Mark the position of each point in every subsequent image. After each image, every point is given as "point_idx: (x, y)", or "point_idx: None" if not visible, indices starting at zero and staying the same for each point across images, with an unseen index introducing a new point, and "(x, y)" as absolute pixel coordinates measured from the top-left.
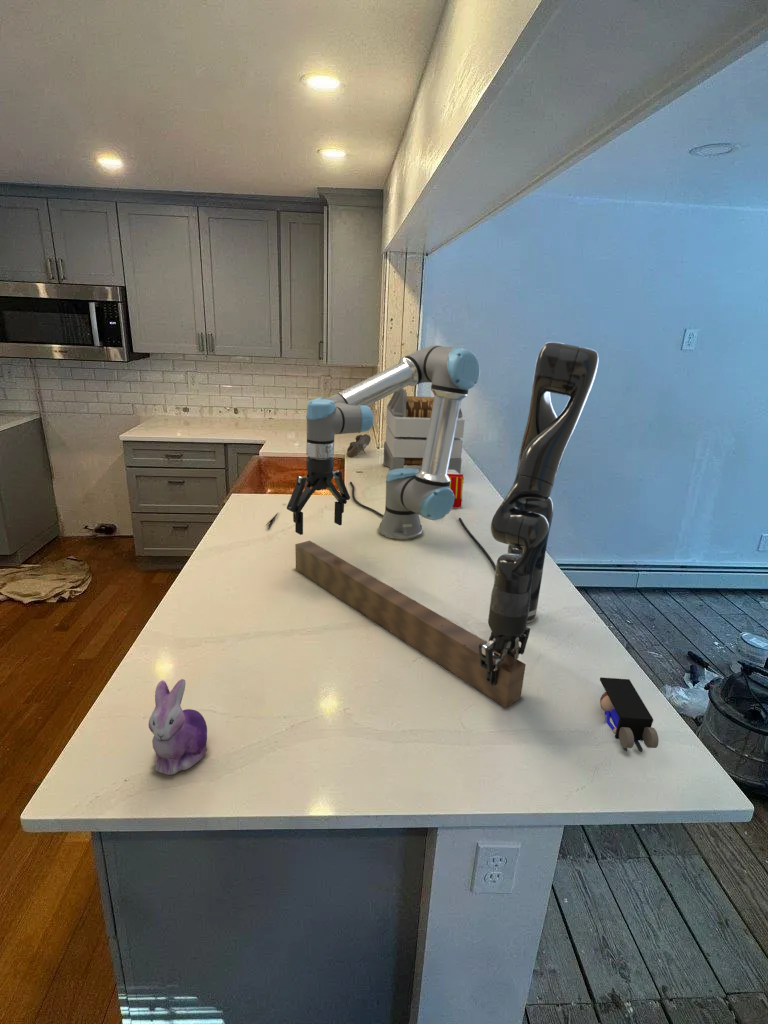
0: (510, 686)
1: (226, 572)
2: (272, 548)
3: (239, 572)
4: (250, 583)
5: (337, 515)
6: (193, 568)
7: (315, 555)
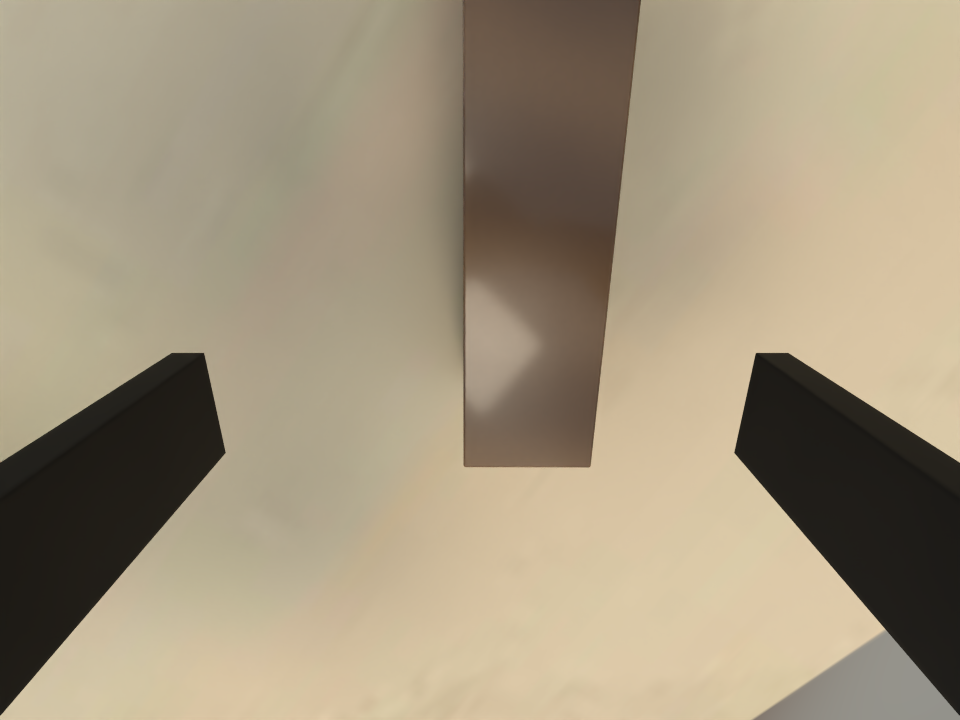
0: None
1: None
2: (503, 620)
3: None
4: None
5: (145, 463)
6: None
7: (611, 198)
